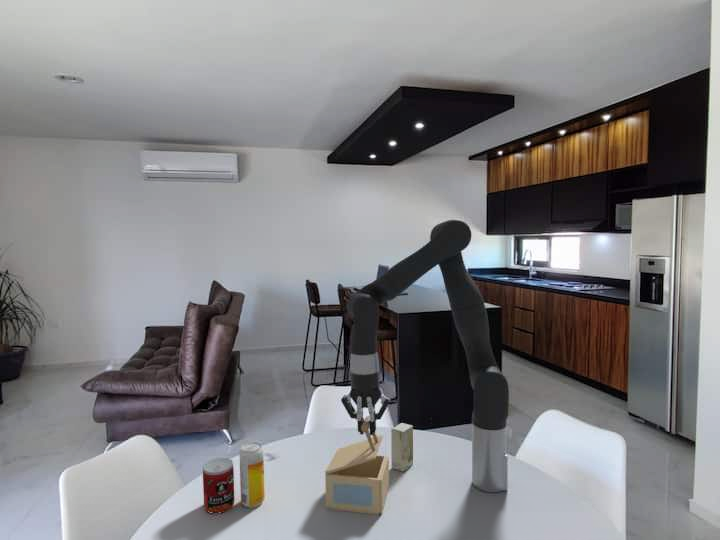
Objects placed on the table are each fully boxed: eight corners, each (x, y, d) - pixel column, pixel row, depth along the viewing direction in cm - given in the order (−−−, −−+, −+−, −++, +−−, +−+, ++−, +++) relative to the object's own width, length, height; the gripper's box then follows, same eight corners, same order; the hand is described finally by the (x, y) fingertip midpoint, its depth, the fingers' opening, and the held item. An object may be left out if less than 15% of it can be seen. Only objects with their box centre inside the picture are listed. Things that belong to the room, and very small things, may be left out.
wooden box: (389, 487, 122) (388, 455, 121) (381, 515, 109) (381, 480, 108) (338, 482, 125) (338, 451, 124) (325, 509, 112) (325, 475, 111)
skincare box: (403, 472, 130) (402, 432, 129) (390, 468, 132) (390, 428, 132) (414, 463, 135) (413, 425, 134) (402, 459, 137) (401, 421, 137)
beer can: (269, 498, 117) (267, 444, 116) (254, 511, 112) (253, 454, 111) (251, 493, 120) (249, 440, 119) (236, 505, 114) (234, 449, 113)
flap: (383, 436, 121) (373, 410, 122) (375, 458, 109) (364, 429, 109) (338, 451, 124) (328, 425, 124) (325, 474, 112) (314, 445, 112)
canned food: (206, 518, 109) (204, 475, 108) (201, 502, 116) (200, 461, 115) (237, 509, 112) (236, 467, 112) (231, 494, 120) (230, 455, 119)
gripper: (392, 365, 117) (394, 429, 118) (342, 364, 120) (345, 426, 121) (388, 373, 110) (391, 441, 110) (335, 372, 112) (338, 438, 113)
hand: (367, 433), depth 116 cm, fingers closed on flap, 2 cm apart
